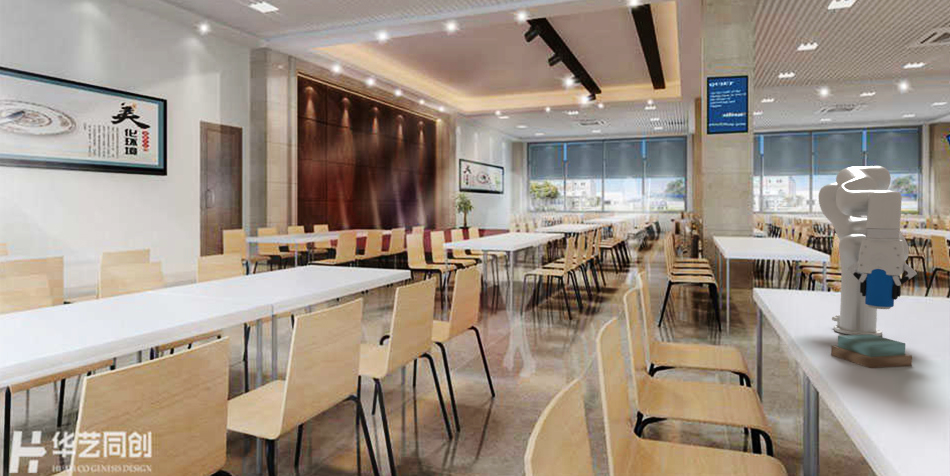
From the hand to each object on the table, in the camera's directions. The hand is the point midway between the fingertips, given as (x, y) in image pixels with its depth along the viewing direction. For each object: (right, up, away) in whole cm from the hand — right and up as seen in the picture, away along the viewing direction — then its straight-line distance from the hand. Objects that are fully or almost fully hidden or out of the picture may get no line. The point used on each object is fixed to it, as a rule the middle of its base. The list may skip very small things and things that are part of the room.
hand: (879, 296), depth 150 cm
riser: (-11, -15, -12) cm, 22 cm away
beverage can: (0, -3, 0) cm, 3 cm away
